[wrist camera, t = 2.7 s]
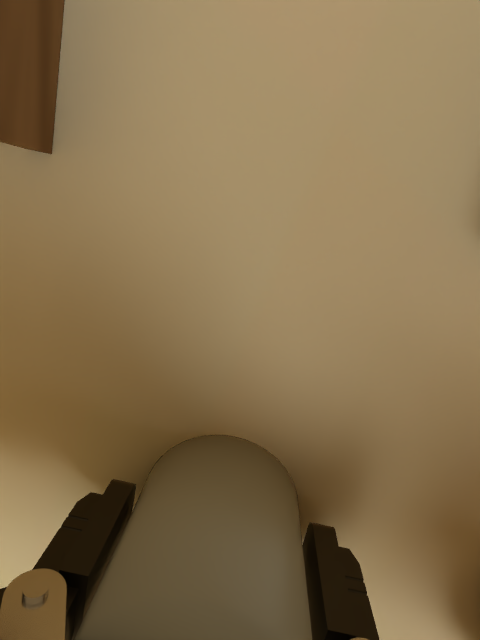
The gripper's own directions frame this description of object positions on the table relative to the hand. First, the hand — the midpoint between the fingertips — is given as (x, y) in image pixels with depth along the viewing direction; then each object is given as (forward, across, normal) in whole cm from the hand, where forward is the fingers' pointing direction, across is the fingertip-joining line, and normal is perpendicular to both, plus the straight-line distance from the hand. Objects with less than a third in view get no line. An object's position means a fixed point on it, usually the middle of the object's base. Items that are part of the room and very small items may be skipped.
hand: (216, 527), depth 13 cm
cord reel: (+1, 0, 0) cm, 1 cm away
